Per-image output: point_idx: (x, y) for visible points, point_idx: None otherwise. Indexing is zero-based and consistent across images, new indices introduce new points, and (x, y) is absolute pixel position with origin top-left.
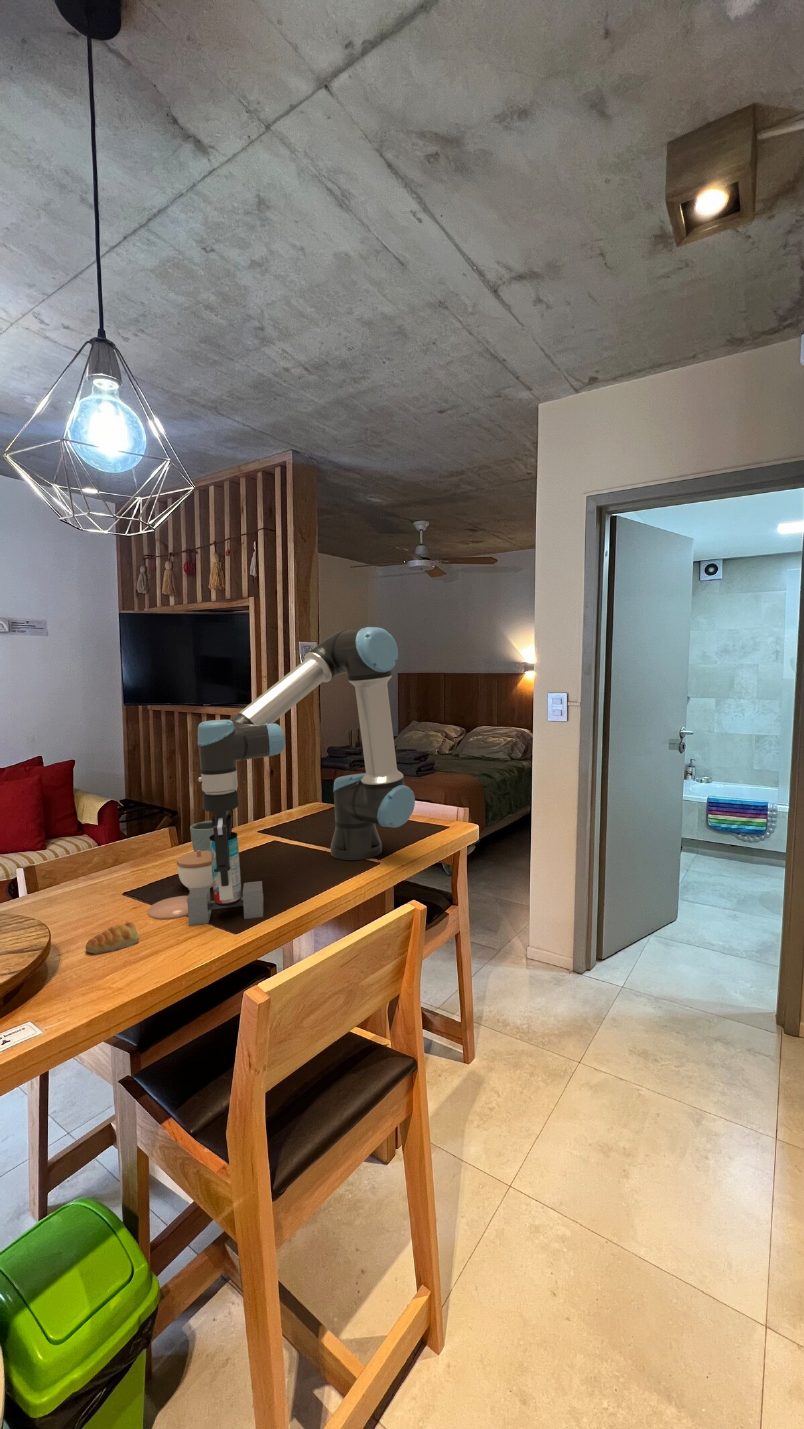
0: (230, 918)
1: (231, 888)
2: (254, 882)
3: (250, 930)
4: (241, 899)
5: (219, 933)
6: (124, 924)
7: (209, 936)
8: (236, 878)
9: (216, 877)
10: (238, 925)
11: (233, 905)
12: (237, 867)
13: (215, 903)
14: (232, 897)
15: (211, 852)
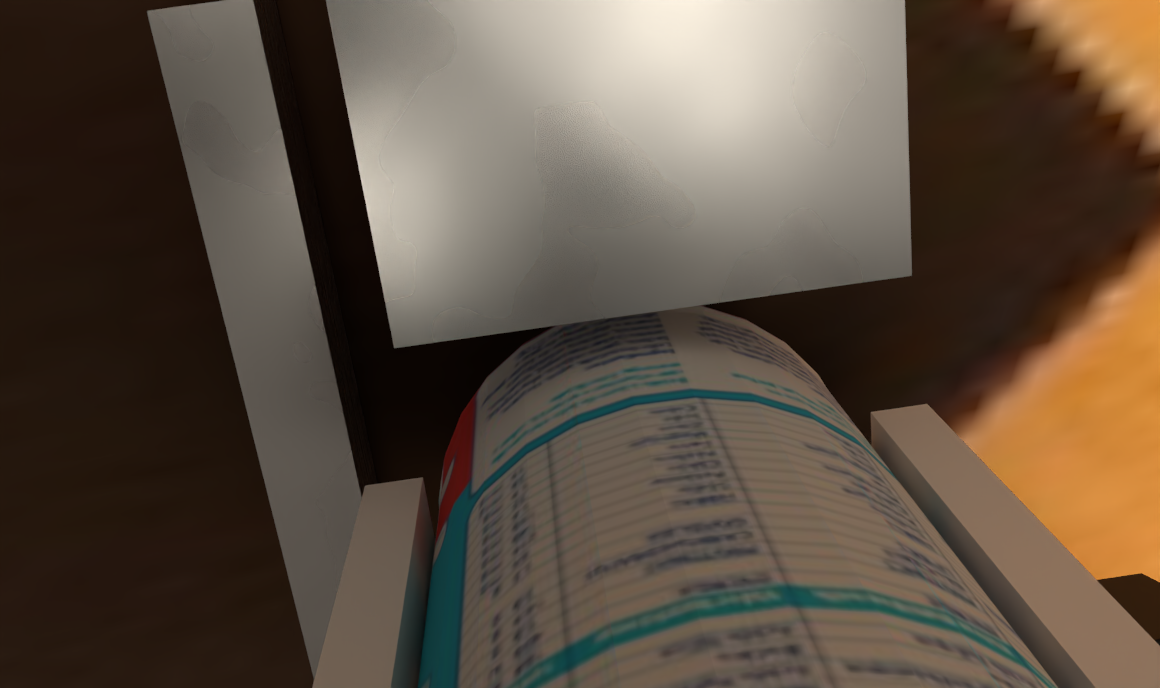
0: None
1: (1003, 496)
2: (401, 137)
3: (1150, 36)
4: (314, 324)
5: (1110, 391)
6: None
7: (1151, 477)
8: (889, 498)
9: None
10: (954, 218)
11: (354, 403)
12: (921, 615)
13: None
14: (932, 417)
15: None
